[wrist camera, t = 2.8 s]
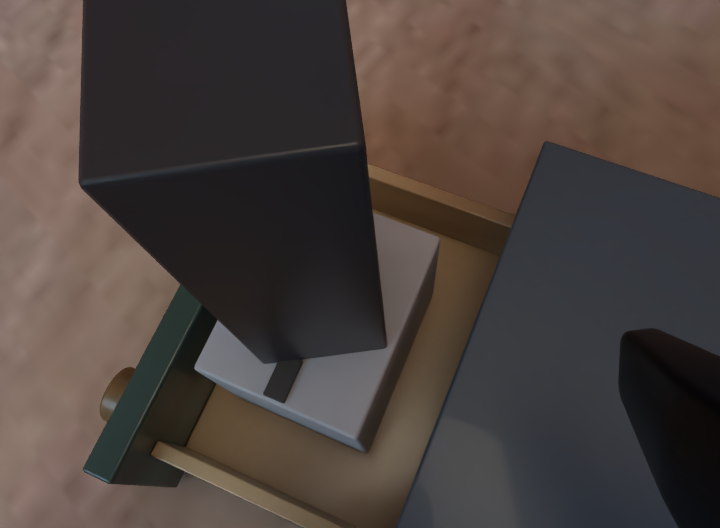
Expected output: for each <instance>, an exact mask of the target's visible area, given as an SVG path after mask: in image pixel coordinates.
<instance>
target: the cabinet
mask: <svg viewBox="0 0 720 528" xmlns="http://www.w3.org/2000/svg"><path fill="white" fill-rule="evenodd" d="M647 328H655V329H658V330H661V331H663V332H665V333H668V334H670V335H672V336H674V337H677V338H679V339H681V340H684V341H686V342H688V343H691V344H693V345H695V346H697V347H700V348H702V349H704V350H707V351H709V352H711V353H714V354H716V355H718V356H720V198H718V197H715V196H712V195H709V194H706V193H703V192H700V191H697V190H694V189H690V188H687V187H684V186H681V185H678V184H675V183H672V182H669V181H666V180H663V179H660V178H657V177H654V176H651V175H648V174H645V173H642V172H639V171H636V170H633V169H630V168H627V167H624V166H621V165H618V164H615V163H612V162H609V161H606V160H603V159H600V158H597V157H594V156H591V155H588V154H585V153H582V152H579V151H576V150H573V149H569V148H566V147H563V146H560V145H557V144H554V143H551V142H548V141H545V142H544V143H543V146H542V148H541V151H540V154H539V156H538V159H537V161H536V164H535V166H534V169H533V172H532V174H531V177H530V179H529V182H528V185H527V187H526V190H525V192H524V195H523V197H522V200H521V203H520V205H519V208H518V210H517V213H516V215H515V218H514V221H513V224H512V226H511V229H510V231H509V234H508V237H507V239H506V242H505V244H504V247H503V250H502V252H501V255H500V257H499V260H498V263H497V265H496V268H495V270H494V273H493V276H492V278H491V281H490V283H489V286H488V289H487V291H486V294H485V296H484V299H483V302H482V304H481V307H480V309H479V312H478V315H477V317H476V320H475V322H474V325H473V327H472V330H471V333H470V335H469V338H468V340H467V343H466V346H465V348H464V351H463V353H462V356H461V359H460V361H459V364H458V366H457V369H456V372H455V374H454V377H453V379H452V382H451V385H450V387H449V390H448V392H447V395H446V398H445V400H444V403H443V405H442V408H441V411H440V413H439V416H438V418H437V421H436V423H435V426H434V429H433V431H432V434H431V436H430V439H429V442H428V444H427V447H426V449H425V452H424V455H423V457H422V460H421V462H420V465H419V468H418V470H417V473H416V475H415V478H414V481H413V483H412V486H411V488H410V491H409V494H408V496H407V499H406V501H405V504H404V507H403V509H402V512H401V514H400V517H399V520H398V522H397V525H396V527H395V528H678V526H677V524H676V523H675V521H674V519H673V517H672V515H671V514H670V512H669V510H668V508H667V506H666V504H665V502H664V500H663V498H662V496H661V494H660V492H659V489H658V487H657V485H656V483H655V480H654V478H653V475H652V473H651V470H650V468H649V466H648V463H647V461H646V458H645V456H644V454H643V451H642V449H641V446H640V444H639V441H638V439H637V437H636V434H635V432H634V429H633V427H632V424H631V422H630V420H629V417H628V415H627V412H626V410H625V408H624V405H623V403H622V400H621V397H620V393H619V386H618V377H619V356H620V341H621V338H622V335H623V334H624V333H625V332H627V331H632V330H640V329H647Z"/></svg>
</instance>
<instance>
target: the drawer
mask: <svg viewBox="0 0 720 528" xmlns="http://www.w3.org/2000/svg"><path fill="white" fill-rule="evenodd" d="M368 172H369V181H370V190H371V199H372V208H373V213H376V214H378V215H381V216H384V217H387V218H389V219H392V220H395V221H397V222H400V223H403V224H405V225H408V226H411V227H414V228H416V229H419V230H422V231H424V232H427V233H430V234H433V235H435V236H438V237H439V238H440V247H439V254H438V261H437V269H436V276H435V283H434V291H433V296H432V298H431V301H430V303H429V306H428V308H427V310H426V313H425V315H424V318H423V320H422V323H421V325H420V327H419V330H418V332H417V335H416V337H415V340H414V342H413V345H412V347H411V349H410V352H409V354H408V357H407V359H406V362H405V364H404V367H403V369H402V371H401V374H400V376H399V379H398V381H397V384H396V386H395V388H394V391H393V393H392V396H391V398H390V401H389V403H388V406H387V408H386V410H385V413H384V415H383V418H382V420H381V423H380V425H379V428H378V430H377V432H376V435H375V437H374V440H373V442H372V445H371V447H370V449H369V451H368V452H367V453H363V452H361V451H359V450H356V449H354V448H352V447H349V446H347V445H345V444H343V443H340V442H338V441H336V440H334V439H331V438H329V437H327V436H325V435H322V434H320V433H318V432H316V431H313V430H311V429H309V428H306V427H304V426H302V425H300V424H297V423H295V422H293V421H291V420H288V419H286V418H284V417H282V416H279V415H277V414H275V413H272V412H270V411H268V410H266V409H263V408H261V407H259V406H257V405H254V404H252V403H250V402H248V401H245V400H243V399H241V398H239V397H238V396H236V395H234V394H233V393H231V392H230V391H228V390H226V389H225V388H223V387H222V386H220V385H218V384H217V383H215V382H213V381H212V380H210V379H209V378H207V377H205V376H204V375H202V374H201V373H199V372H197V371H196V370H195V369H194V368H195V364H196V362H197V360H198V358H199V356H200V354H201V352H202V350H203V348H204V346H205V344H206V342H207V340H208V338H209V336H210V334H211V332H212V330H213V328H214V326H215V324H216V322H217V319H216V318H215V317H214V316H213V315H212V314H211V313H210V312H209V311H208V310H207V309H206V308H205V307H204V306H203V305H202V304H201V303H200V302H199V301H198V300H197V299H196V298H194V297H193V296H192V295H191V294H190V293H189V292H188V291H187V290H186V289H185V288H184V287H183V286H182V285H181V284H180V286H179V288H178V290H177V292H176V294H175V296H174V298H173V299H172V301H171V303H170V305H169V307H168V309H167V311H166V313H165V315H164V316H163V318H162V320H161V322H160V324H159V326H158V328H157V330H156V332H155V333H154V335H153V337H152V339H151V341H150V343H149V345H148V347H147V348H146V350H145V352H144V354H143V356H142V358H141V360H140V362H139V364H138V365H137V367H136V369H135V368H132V367H128V368H125V369H123V370H121V371H120V372H119V373H118V374H117V375H116V376H115V377H114V378H113V380H112V381H111V382H110V384H109V385H108V387H107V389H106V391H105V393H104V395H103V398H102V401H101V405H100V415H101V417H102V418H103V419H104V420H105V421H107V424H106V426H105V428H104V430H103V431H102V433H101V435H100V437H99V439H98V441H97V443H96V445H95V447H94V448H93V450H92V452H91V454H90V456H89V458H88V460H87V462H86V463H85V465H84V467H83V471H84V472H85V473H87V474H89V475H92V476H94V477H96V478H98V479H100V480H102V481H104V482H106V483H108V484H121V485H139V486H156V487H177V485H178V483H179V481H180V479H181V477H182V475H183V473H184V471H185V472H187V473H189V474H191V475H193V476H195V477H197V478H199V479H202V480H204V481H206V482H208V483H210V484H212V485H214V486H216V487H219V488H221V489H223V490H225V491H227V492H229V493H231V494H233V495H235V496H238V497H240V498H242V499H244V500H246V501H248V502H250V503H252V504H254V505H257V506H259V507H261V508H263V509H265V510H267V511H269V512H271V513H274V514H276V515H278V516H280V517H282V518H284V519H286V520H288V521H290V522H293V523H295V524H297V525H299V526H301V527H303V528H395V527H396V525H397V522H398V520H399V517H400V514H401V512H402V509H403V507H404V504H405V501H406V499H407V496H408V494H409V491H410V488H411V486H412V483H413V481H414V478H415V475H416V473H417V470H418V468H419V465H420V462H421V460H422V457H423V455H424V452H425V449H426V447H427V444H428V442H429V439H430V436H431V434H432V431H433V429H434V426H435V423H436V421H437V418H438V416H439V413H440V411H441V408H442V405H443V403H444V400H445V398H446V395H447V392H448V390H449V387H450V385H451V382H452V379H453V377H454V374H455V372H456V369H457V366H458V364H459V361H460V359H461V356H462V353H463V351H464V348H465V346H466V343H467V340H468V338H469V335H470V333H471V330H472V327H473V325H474V322H475V320H476V317H477V315H478V312H479V309H480V307H481V304H482V302H483V299H484V296H485V294H486V291H487V289H488V286H489V283H490V281H491V278H492V276H493V273H494V270H495V268H496V265H497V263H498V260H499V257H500V255H501V252H502V250H503V247H504V244H505V242H506V239H507V237H508V234H509V231H510V229H511V226H512V224H513V221H514V218H515V216H514V215H511V214H508V213H506V212H503V211H500V210H497V209H494V208H491V207H489V206H486V205H483V204H480V203H477V202H475V201H472V200H469V199H466V198H463V197H460V196H458V195H455V194H452V193H449V192H446V191H444V190H441V189H438V188H435V187H432V186H429V185H427V184H424V183H421V182H418V181H415V180H413V179H410V178H407V177H404V176H401V175H398V174H396V173H393V172H390V171H387V170H384V169H382V168H379V167H376V166H373V165H370V164H368Z"/></svg>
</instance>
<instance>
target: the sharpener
mask: <svg viewBox="0 0 720 528" xmlns="http://www.w3.org/2000/svg"><path fill="white" fill-rule="evenodd" d="M79 184H80V186H81V188H82V189H83V190H84V191H85V192H86V193H87V194H88V195H89V196H90V197H91V198H92V199H93V200H94V201H95V202H96V203H97V204H98V205H99V206H100V207H101V208H102V209H103V210H104V211H105V212H106V213H107V214H109V215H110V216H111V217H112V218H113V219H114V220H115V221H116V222H117V223H118V224H119V225H120V226H121V227H122V228H123V229H124V230H125V231H126V232H127V233H128V234H129V235H130V236H131V237H132V238H133V239H134V240H135V241H136V242H138V243H139V244H140V245H141V246H142V247H143V248H144V249H145V250H146V251H147V252H148V253H149V254H150V255H151V256H152V257H153V258H154V259H155V260H156V261H157V262H158V263H159V264H160V265H161V266H162V267H163V268H164V269H165V270H167V271H168V272H169V273H170V274H171V275H172V276H173V277H174V278H175V279H176V280H177V281H178V282H179V283H180V284H181V285H182V286H183V287H184V288H185V289H186V290H187V291H188V292H189V293H190V294H191V295H192V296H193V297H194V298H196V299H197V300H198V301H199V302H200V303H201V304H202V305H203V306H204V307H205V308H206V309H207V310H208V311H209V312H210V313H211V314H212V315H213V316H214V317H215V318H216V319H217V322H216V324H215V326H214V328H213V330H212V332H211V334H210V336H209V338H208V340H207V342H206V344H205V346H204V348H203V350H202V352H201V354H200V356H199V358H198V360H197V362H196V364H195V368H194V369H195V370H196V371H197V372H199V373H201V374H202V375H204V376H205V377H207V378H209V379H210V380H212V381H213V382H215V383H217V384H218V385H220V386H222V387H223V388H225V389H226V390H228V391H230V392H231V393H233V394H234V395H236V396H238V397H239V398H241V399H243V400H245V401H248V402H250V403H252V404H254V405H257V406H259V407H261V408H263V409H266V410H268V411H270V412H272V413H275V414H277V415H279V416H282V417H284V418H286V419H288V420H291V421H293V422H295V423H297V424H300V425H302V426H304V427H306V428H309V429H311V430H313V431H316V432H318V433H320V434H322V435H325V436H327V437H329V438H331V439H334V440H336V441H338V442H340V443H343V444H345V445H347V446H349V447H352V448H354V449H356V450H359V451H361V452H363V453H367V452H368V451H369V449H370V447H371V445H372V442H373V440H374V437H375V435H376V432H377V430H378V428H379V425H380V423H381V420H382V418H383V415H384V413H385V410H386V408H387V406H388V403H389V401H390V398H391V396H392V393H393V391H394V388H395V386H396V384H397V381H398V379H399V376H400V374H401V371H402V369H403V367H404V364H405V362H406V359H407V357H408V354H409V352H410V349H411V347H412V345H413V342H414V340H415V337H416V335H417V332H418V330H419V327H420V325H421V323H422V320H423V318H424V315H425V313H426V310H427V308H428V306H429V303H430V301H431V298H432V296H433V291H434V283H435V276H436V269H437V261H438V254H439V247H440V238H439V237H438V236H435V235H433V234H430V233H427V232H424V231H422V230H419V229H416V228H414V227H411V226H408V225H405V224H403V223H400V222H397V221H395V220H392V219H389V218H387V217H384V216H381V215H378V214H376V213H373V208H372V199H371V190H370V181H369V172H368V163H367V154H366V145H365V137H364V130H363V123H362V115H361V108H360V101H359V93H358V86H357V79H356V71H355V64H354V57H353V50H352V42H351V35H350V28H349V20H348V13H347V6H346V0H83V27H82V67H81V106H80V145H79Z"/></svg>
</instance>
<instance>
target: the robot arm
mask: <svg viewBox="0 0 720 528" xmlns="http://www.w3.org/2000/svg"><path fill="white" fill-rule="evenodd" d="M618 386H619V393H620V397H621V400H622V403H623V405H624V408H625V410H626V412H627V415H628V417H629V420H630V422H631V424H632V427H633V429H634V432H635V434H636V437H637V439H638V441H639V444H640V446H641V449H642V451H643V454H644V456H645V458H646V461H647V463H648V466H649V468H650V470H651V473H652V475H653V478H654V480H655V483H656V485H657V487H658V489H659V492H660V494H661V496H662V498H663V500H664V502H665V504H666V506H667V508H668V510H669V512H670V514H671V515H672V517H673V519H674V521H675V523H676V524H677V526H678V528H720V356H718V355H716V354H714V353H711V352H709V351H707V350H704V349H702V348H700V347H697V346H695V345H693V344H691V343H688V342H686V341H684V340H681V339H679V338H677V337H674V336H672V335H670V334H668V333H665V332H663V331H661V330H658V329H655V328H647V329H640V330H632V331H627V332H625V333H624V334H623V335H622V338H621V341H620V356H619V377H618Z"/></svg>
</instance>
